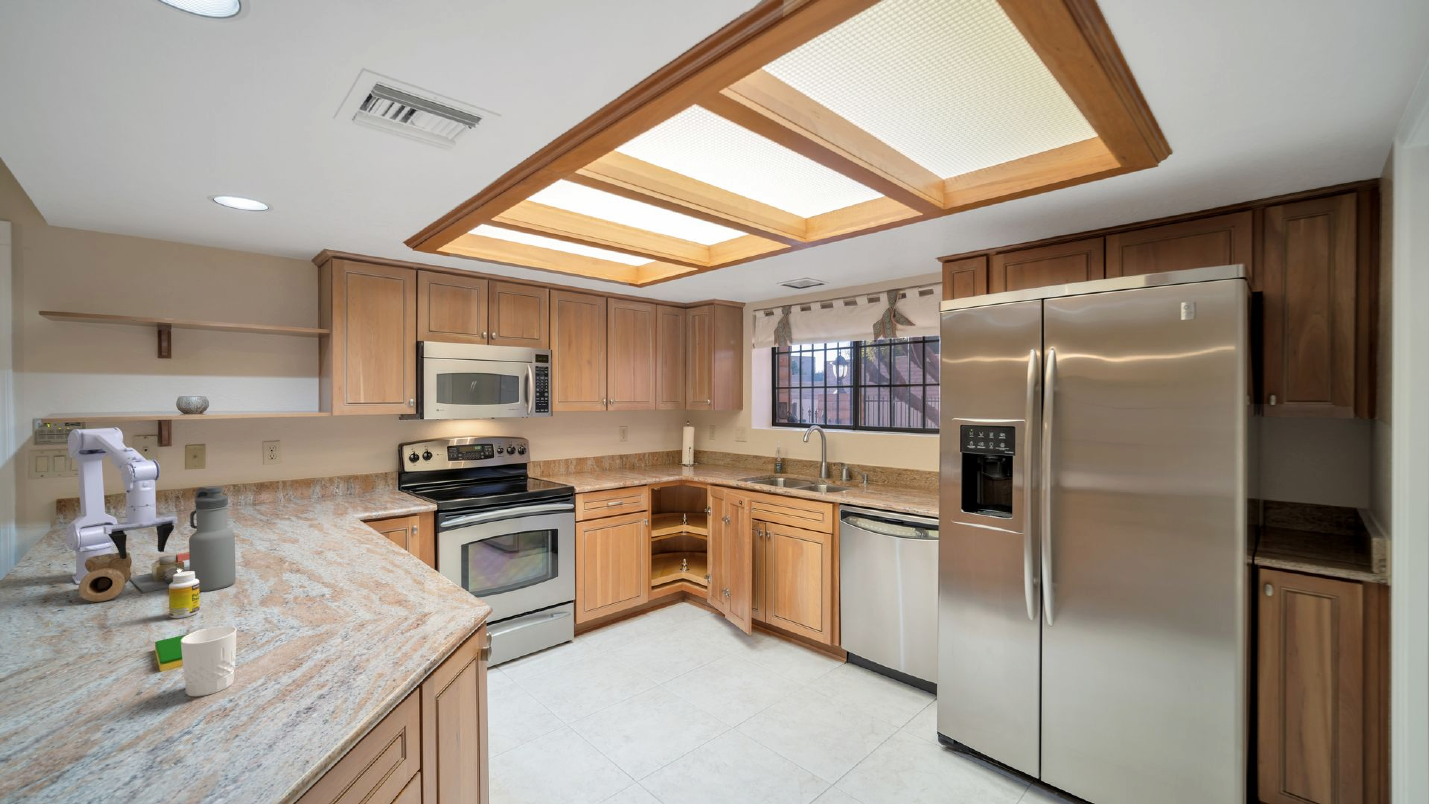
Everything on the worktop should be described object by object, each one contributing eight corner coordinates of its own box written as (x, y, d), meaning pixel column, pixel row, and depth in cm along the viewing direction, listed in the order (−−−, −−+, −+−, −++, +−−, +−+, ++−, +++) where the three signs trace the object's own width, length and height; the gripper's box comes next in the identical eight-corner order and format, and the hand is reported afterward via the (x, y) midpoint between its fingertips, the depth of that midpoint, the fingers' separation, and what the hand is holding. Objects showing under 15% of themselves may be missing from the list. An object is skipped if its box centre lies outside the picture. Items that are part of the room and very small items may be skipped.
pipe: (76, 607, 150) (75, 568, 150) (89, 590, 163) (88, 554, 162) (126, 599, 156) (125, 561, 155) (134, 583, 168) (134, 548, 168)
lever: (160, 565, 170) (160, 558, 170) (158, 562, 172) (157, 556, 172) (213, 555, 179) (213, 549, 179) (210, 553, 181) (210, 548, 181)
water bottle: (182, 588, 164) (180, 488, 163) (224, 578, 172) (222, 483, 172) (200, 594, 159) (198, 491, 158) (242, 584, 167) (240, 485, 167)
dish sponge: (199, 642, 130) (199, 631, 130) (207, 662, 121) (207, 650, 121) (155, 652, 125) (154, 641, 125) (160, 674, 116) (160, 661, 116)
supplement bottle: (195, 616, 144) (194, 575, 143) (165, 620, 141) (164, 578, 141) (203, 609, 149) (202, 568, 148) (174, 612, 146) (173, 571, 146)
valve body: (148, 576, 174) (148, 560, 174) (175, 571, 179) (175, 556, 179) (161, 587, 164) (161, 571, 164) (189, 582, 169) (189, 566, 169)
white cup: (204, 678, 113) (203, 626, 113) (247, 676, 114) (246, 625, 114) (170, 699, 106) (168, 644, 105) (217, 697, 106) (215, 642, 106)
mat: (128, 578, 172) (128, 577, 172) (204, 564, 186) (204, 563, 186) (143, 593, 160) (143, 591, 160) (222, 577, 174) (222, 575, 174)
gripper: (109, 511, 153) (110, 563, 153) (181, 502, 165) (182, 550, 165) (100, 508, 156) (101, 559, 157) (171, 499, 169) (172, 547, 169)
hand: (142, 554), depth 161 cm, fingers open, 7 cm apart
